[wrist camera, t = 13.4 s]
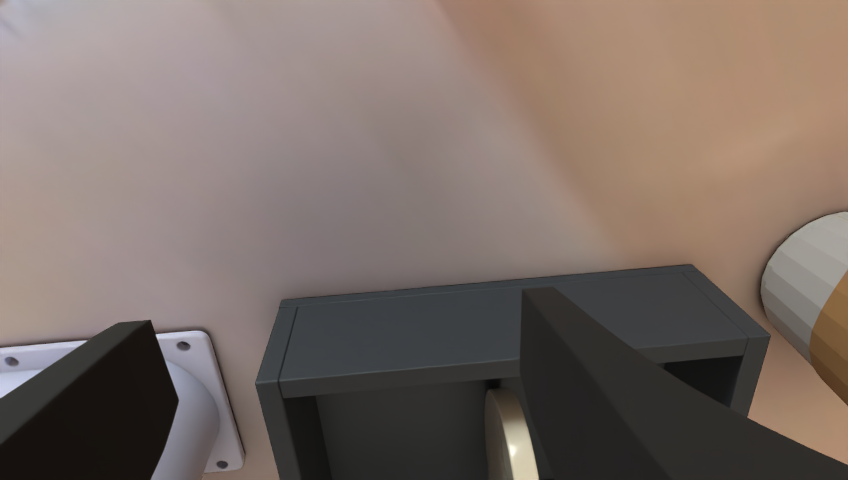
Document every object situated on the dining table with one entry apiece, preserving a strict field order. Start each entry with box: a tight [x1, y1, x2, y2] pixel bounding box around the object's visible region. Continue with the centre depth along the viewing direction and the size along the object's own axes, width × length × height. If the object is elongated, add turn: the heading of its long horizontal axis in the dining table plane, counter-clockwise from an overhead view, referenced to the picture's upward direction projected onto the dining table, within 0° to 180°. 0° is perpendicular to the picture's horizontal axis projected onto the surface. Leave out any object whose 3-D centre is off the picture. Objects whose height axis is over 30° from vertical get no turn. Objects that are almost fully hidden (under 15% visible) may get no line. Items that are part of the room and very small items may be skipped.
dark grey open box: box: [255, 265, 771, 480], centre depth 23 cm, size 18×13×5 cm
